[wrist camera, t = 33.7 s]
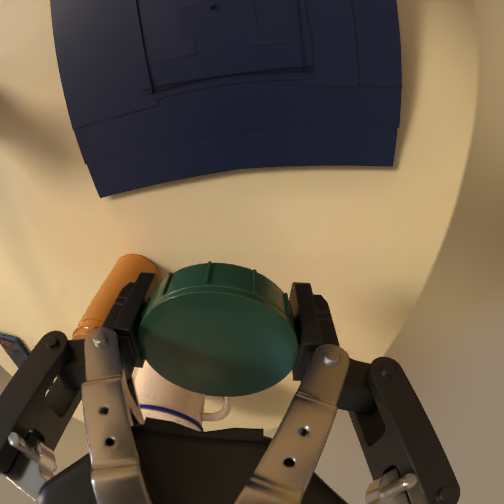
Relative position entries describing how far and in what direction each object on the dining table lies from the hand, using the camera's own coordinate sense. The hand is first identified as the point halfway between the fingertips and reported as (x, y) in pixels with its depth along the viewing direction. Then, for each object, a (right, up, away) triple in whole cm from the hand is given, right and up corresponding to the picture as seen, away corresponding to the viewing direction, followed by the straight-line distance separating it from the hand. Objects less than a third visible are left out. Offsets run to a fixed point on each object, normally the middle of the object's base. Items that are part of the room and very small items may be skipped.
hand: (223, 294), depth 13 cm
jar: (-10, 0, +13) cm, 16 cm away
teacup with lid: (-7, -13, +21) cm, 25 cm away
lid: (0, -2, -2) cm, 3 cm away
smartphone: (-41, -18, +25) cm, 51 cm away
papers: (-1, +20, +1) cm, 20 cm away
